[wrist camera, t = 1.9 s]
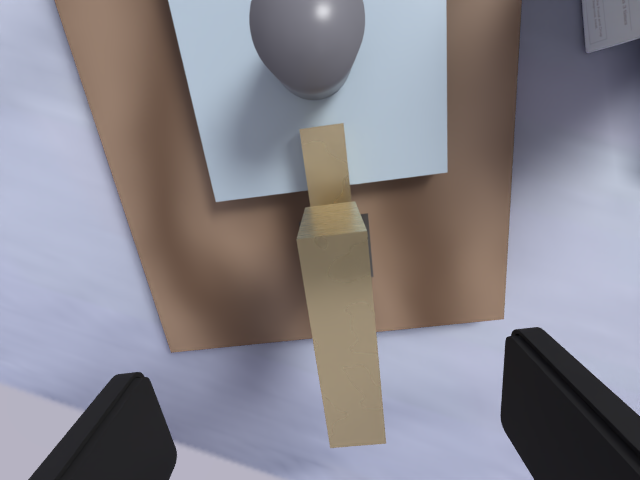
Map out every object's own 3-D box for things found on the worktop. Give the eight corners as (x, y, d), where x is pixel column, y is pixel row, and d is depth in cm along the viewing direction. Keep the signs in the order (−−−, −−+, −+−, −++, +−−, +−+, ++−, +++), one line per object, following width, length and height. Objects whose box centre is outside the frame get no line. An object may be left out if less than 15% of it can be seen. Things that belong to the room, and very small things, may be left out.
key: (345, 123, 17) (364, 115, 8) (363, 308, 20) (391, 442, 12) (299, 129, 17) (270, 129, 8) (325, 312, 20) (324, 448, 12)
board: (512, -162, 15) (533, -196, 13) (492, 306, 22) (504, 320, 21) (49, -76, 16) (20, -98, 14) (180, 339, 23) (170, 353, 22)
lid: (433, -112, 14) (518, -303, 8) (437, 169, 18) (496, 189, 12) (165, -64, 15) (48, -204, 9) (224, 196, 18) (173, 229, 12)
